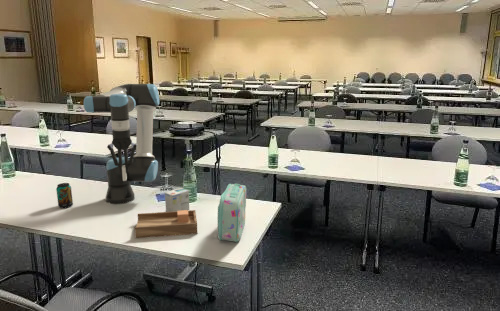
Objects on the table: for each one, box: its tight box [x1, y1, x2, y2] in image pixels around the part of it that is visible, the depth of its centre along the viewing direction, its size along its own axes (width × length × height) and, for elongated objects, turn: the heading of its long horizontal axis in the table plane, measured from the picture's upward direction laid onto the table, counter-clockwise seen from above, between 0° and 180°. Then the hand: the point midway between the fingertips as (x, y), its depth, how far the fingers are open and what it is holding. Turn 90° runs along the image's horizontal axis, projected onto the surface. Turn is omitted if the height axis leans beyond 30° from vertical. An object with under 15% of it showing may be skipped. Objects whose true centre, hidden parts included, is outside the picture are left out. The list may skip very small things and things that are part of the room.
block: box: [177, 210, 189, 223], centre depth 187 cm, size 5×5×4 cm
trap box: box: [134, 209, 198, 239], centre depth 184 cm, size 16×27×5 cm, turn 101°
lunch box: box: [217, 183, 247, 243], centre depth 179 cm, size 27×10×21 cm, turn 174°
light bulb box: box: [164, 187, 190, 212], centre depth 204 cm, size 11×7×11 cm, turn 134°
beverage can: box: [55, 182, 74, 209], centre depth 209 cm, size 7×7×12 cm
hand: (124, 179), depth 183 cm, fingers closed
